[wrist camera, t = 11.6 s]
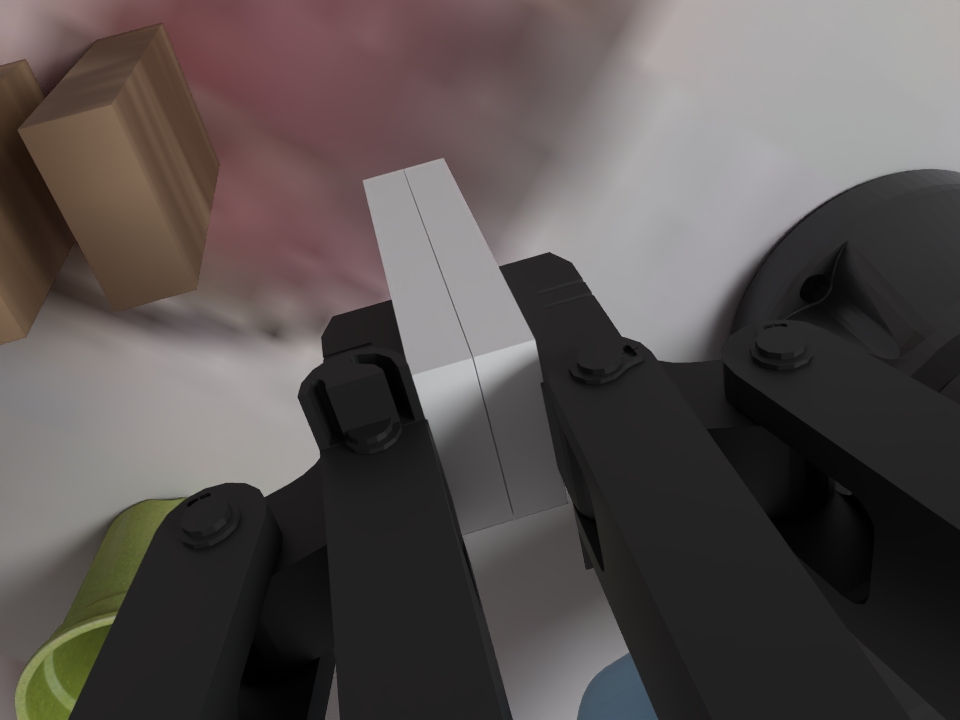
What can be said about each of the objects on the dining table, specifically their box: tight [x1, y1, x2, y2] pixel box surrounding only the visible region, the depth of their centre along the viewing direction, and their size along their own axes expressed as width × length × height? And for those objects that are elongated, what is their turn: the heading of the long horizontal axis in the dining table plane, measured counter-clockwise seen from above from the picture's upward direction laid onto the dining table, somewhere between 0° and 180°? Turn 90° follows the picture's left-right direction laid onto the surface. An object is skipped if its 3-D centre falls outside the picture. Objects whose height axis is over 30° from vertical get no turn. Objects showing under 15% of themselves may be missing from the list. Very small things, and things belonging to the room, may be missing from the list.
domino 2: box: [18, 23, 220, 312], centre depth 25 cm, size 2×5×10 cm, turn 12°
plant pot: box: [14, 498, 186, 720], centre depth 35 cm, size 9×9×9 cm
